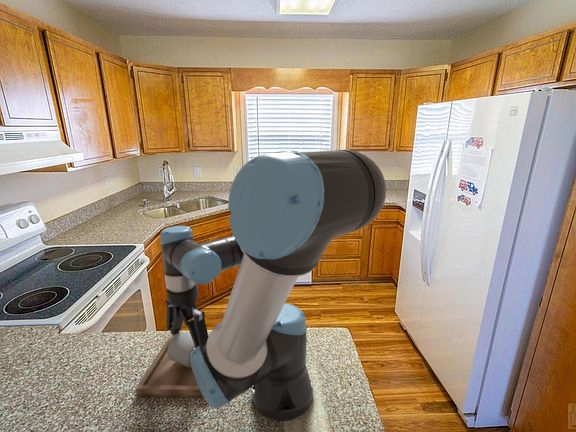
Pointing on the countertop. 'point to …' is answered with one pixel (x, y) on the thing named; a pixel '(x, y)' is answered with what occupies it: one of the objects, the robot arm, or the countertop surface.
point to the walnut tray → (168, 379)
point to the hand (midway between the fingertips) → (190, 360)
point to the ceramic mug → (181, 348)
